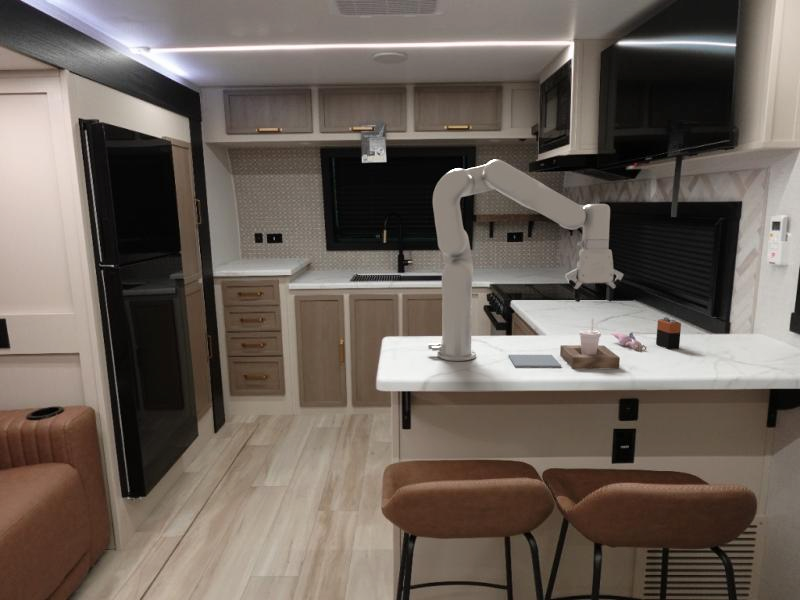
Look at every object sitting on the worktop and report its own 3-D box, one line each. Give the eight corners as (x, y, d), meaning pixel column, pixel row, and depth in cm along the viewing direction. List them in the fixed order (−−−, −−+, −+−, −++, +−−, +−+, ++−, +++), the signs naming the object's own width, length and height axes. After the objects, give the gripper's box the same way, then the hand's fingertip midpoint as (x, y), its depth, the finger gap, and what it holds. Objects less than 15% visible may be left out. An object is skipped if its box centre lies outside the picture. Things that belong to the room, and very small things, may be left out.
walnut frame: (572, 368, 160) (572, 357, 159) (560, 355, 174) (560, 345, 173) (619, 368, 159) (619, 357, 159) (603, 355, 173) (603, 345, 173)
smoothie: (600, 365, 163) (603, 321, 160) (578, 364, 164) (581, 320, 162) (597, 359, 169) (599, 316, 167) (576, 358, 170) (578, 316, 168)
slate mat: (514, 367, 162) (515, 365, 162) (508, 356, 173) (508, 354, 173) (561, 367, 161) (561, 365, 161) (551, 356, 173) (551, 354, 173)
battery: (665, 343, 188) (668, 316, 186) (679, 348, 181) (682, 320, 179) (655, 344, 187) (657, 316, 185) (668, 349, 180) (671, 320, 179)
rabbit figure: (649, 354, 180) (618, 337, 193) (652, 338, 178) (621, 322, 191) (634, 356, 178) (604, 338, 191) (637, 339, 176) (607, 323, 189)
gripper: (569, 246, 157) (568, 303, 160) (629, 245, 156) (626, 302, 159) (563, 245, 164) (561, 299, 167) (619, 243, 164) (617, 298, 166)
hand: (593, 300), depth 163 cm, fingers open, 9 cm apart
